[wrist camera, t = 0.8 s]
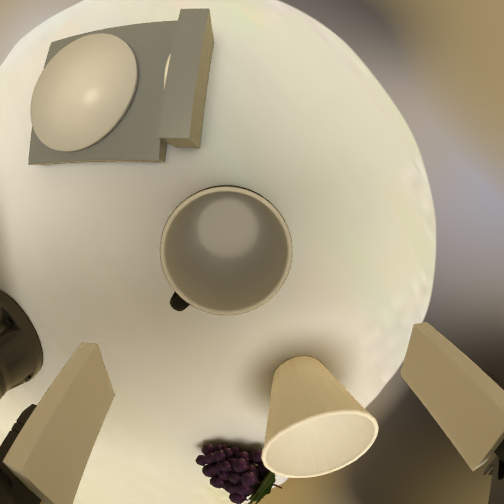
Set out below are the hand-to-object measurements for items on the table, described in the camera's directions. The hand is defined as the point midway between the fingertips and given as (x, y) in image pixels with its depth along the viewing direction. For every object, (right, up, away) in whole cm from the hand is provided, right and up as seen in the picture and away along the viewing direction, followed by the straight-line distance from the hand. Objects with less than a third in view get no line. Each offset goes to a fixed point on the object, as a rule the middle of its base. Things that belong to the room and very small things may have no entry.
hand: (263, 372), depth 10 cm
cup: (+6, -11, +24) cm, 27 cm away
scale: (-15, +21, +14) cm, 29 cm away
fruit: (-2, -28, +28) cm, 39 cm away
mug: (-4, +6, +19) cm, 20 cm away
